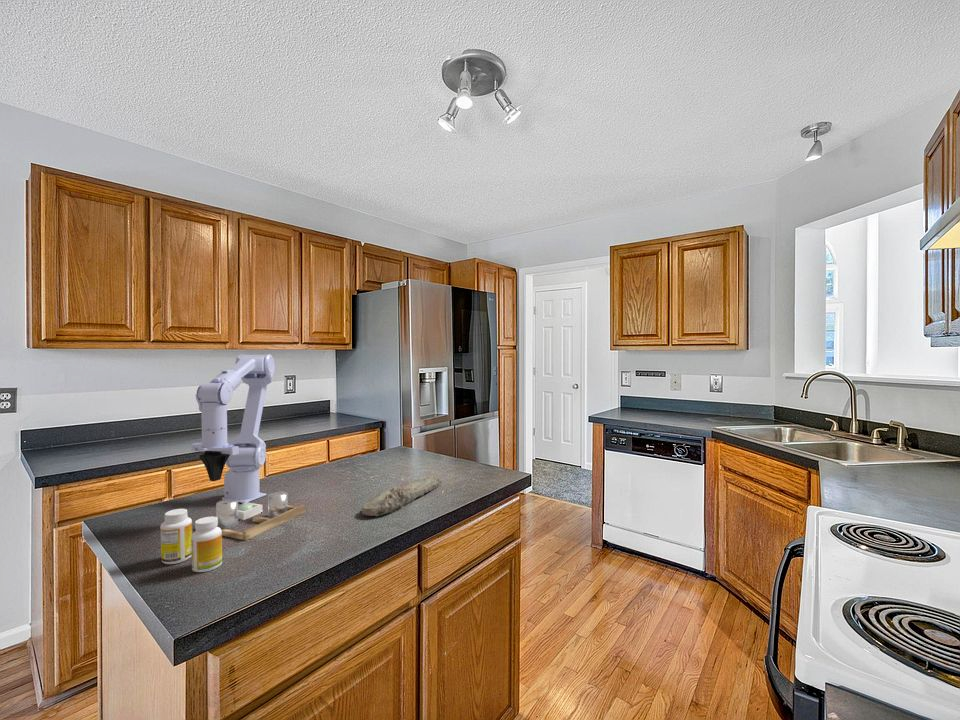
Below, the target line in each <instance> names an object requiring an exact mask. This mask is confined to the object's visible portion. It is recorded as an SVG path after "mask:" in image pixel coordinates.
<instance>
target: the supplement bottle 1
mask: <svg viewBox="0 0 960 720" xmlns="http://www.w3.org/2000/svg"><path fill="white" fill-rule="evenodd" d="M159 529H160V558H161V562H162V563H163V564H165V565H175V564H180V563H183V562H185V561H187V560H189V559H190V558H191V536H192V534H193V520H192V518H191V517H189V516H188V510H187V509H186V508H175V509H170V510H169V511H167V512H165V513H164V521H162V523H161V524H160V528H159Z"/></svg>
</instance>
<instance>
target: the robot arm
mask: <svg viewBox="0 0 960 720" xmlns="http://www.w3.org/2000/svg"><path fill="white" fill-rule="evenodd" d="M275 367H276V364H275V360H274V357H273V356H272V354H270V353H269V354H242V353H241V354H239V355H238V356H237V357H235V364H234V366H233V367H232V368H231V369H229V368H228V369H222V370H221V372H220V373H219V374H218V375H216V377H213V379H212V380H211V381H210V382H203V383H202V384H201V385H198V387H197V390H196V394H195V399H196V402H197V404H198V410H199V412H200V413H201V442H195V443H194V442H193V443H191V452H202V453H203V454H199V459H200V460H201V462H202V463H203V465H204V467H205V469H206V472H207V476H208V478H209V481H210V482H217V481H220V480H221V479H222V474H223V471H224V468H225V465H226V467H227V468H229V469H228V470H227V471H226V472H225V474H224V477H223V487H224V488H223V491H224V493H223V494H224V495H223V496H224V497H221V501H222V500H226V499H237V500H238V503H239V504H240V503H241V504H243V503H246V502H248V503H251V502H252V501H254V500H258V499H260V498H263V497H265V496H267V493H264V492H260V485H261V484H260V468H261V467H262V466H264V464H265V462H266V457H267V453H266V448H267V445H266V443H265V441H264V440H263V439H261V438H260V437H259V430H260V427H261V420H262V415H263V409H264V404H265V400H266V399H265V398H266V394H267V389H268V385H269V384H271V383H272V382H273V379H274V375H275V369H276V368H275ZM242 382H243V384H246V385H248V392H247V398H246V402H245V407H244V411H243V412H244V413H243V416H242V421H241V427H240V428H241V429H240V432H239V435H238V436H236V437H235V438H233V439H232V440H229V441H230V442H229V443H228V414H227V413H228V404H229V403H230V402H231V399H232V395H233V394H234V391H235V390H236V389H238V387H239V386H241V383H242Z"/></svg>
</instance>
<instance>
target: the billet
mask: <svg viewBox="0 0 960 720" xmlns="http://www.w3.org/2000/svg"><path fill="white" fill-rule="evenodd" d="M215 505H216V506H215V508H216V511H215V515H216V516H215V517H217V518H218V525H217V527H219V528H221V530H223V529H227V528H229V529H232V528H231V527H233V528H235V527H237V526H238V525H239V519H238V505H239V502H238V500H237V499H226V500H222V499H221V500H219V501H217V502H216V504H215ZM236 525H237V526H236ZM234 526H235V527H234Z"/></svg>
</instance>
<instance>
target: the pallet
mask: <svg viewBox="0 0 960 720" xmlns="http://www.w3.org/2000/svg"><path fill="white" fill-rule="evenodd" d="M305 506H306V505H305V504H300V505H298V506H295V505H289V504H288V511H287V512H285V513H282V514H280V515H278V516H276V517H273V518H268V517H265V516H259V515H255V516H252V522H253V523H258V524H256V525H253V526H252V527H249V528H247V529H245V530H243V531H239V530H232V529H221V530H222V537H228V538H232V539H237V540H241V541H242V540H243V541H249V539H252V538H254V537H256V536H259V535H260V534H262V533H265V532H267V531H268V530H271V529H273V528H275V527H277V526H279V525H281V524H283V523H286V522H287V521H290V520H292V519H294V518H296V517H298V516H301V515H303V514H304V513H306V507H305Z"/></svg>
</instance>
